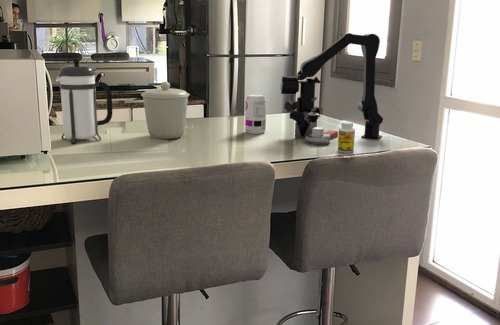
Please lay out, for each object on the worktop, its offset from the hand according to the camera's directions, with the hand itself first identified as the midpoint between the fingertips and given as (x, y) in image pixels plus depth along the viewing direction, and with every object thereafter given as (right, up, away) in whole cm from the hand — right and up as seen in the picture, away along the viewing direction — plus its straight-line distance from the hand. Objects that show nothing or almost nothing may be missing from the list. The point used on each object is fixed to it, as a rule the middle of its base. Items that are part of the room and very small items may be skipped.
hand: (305, 134), depth 214 cm
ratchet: (+6, -2, -5) cm, 8 cm away
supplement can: (-20, +1, +8) cm, 21 cm away
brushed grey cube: (0, -1, 0) cm, 1 cm away
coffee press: (-84, -3, -10) cm, 84 cm away
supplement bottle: (+12, -7, -23) cm, 27 cm away
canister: (-54, -1, -3) cm, 54 cm away
